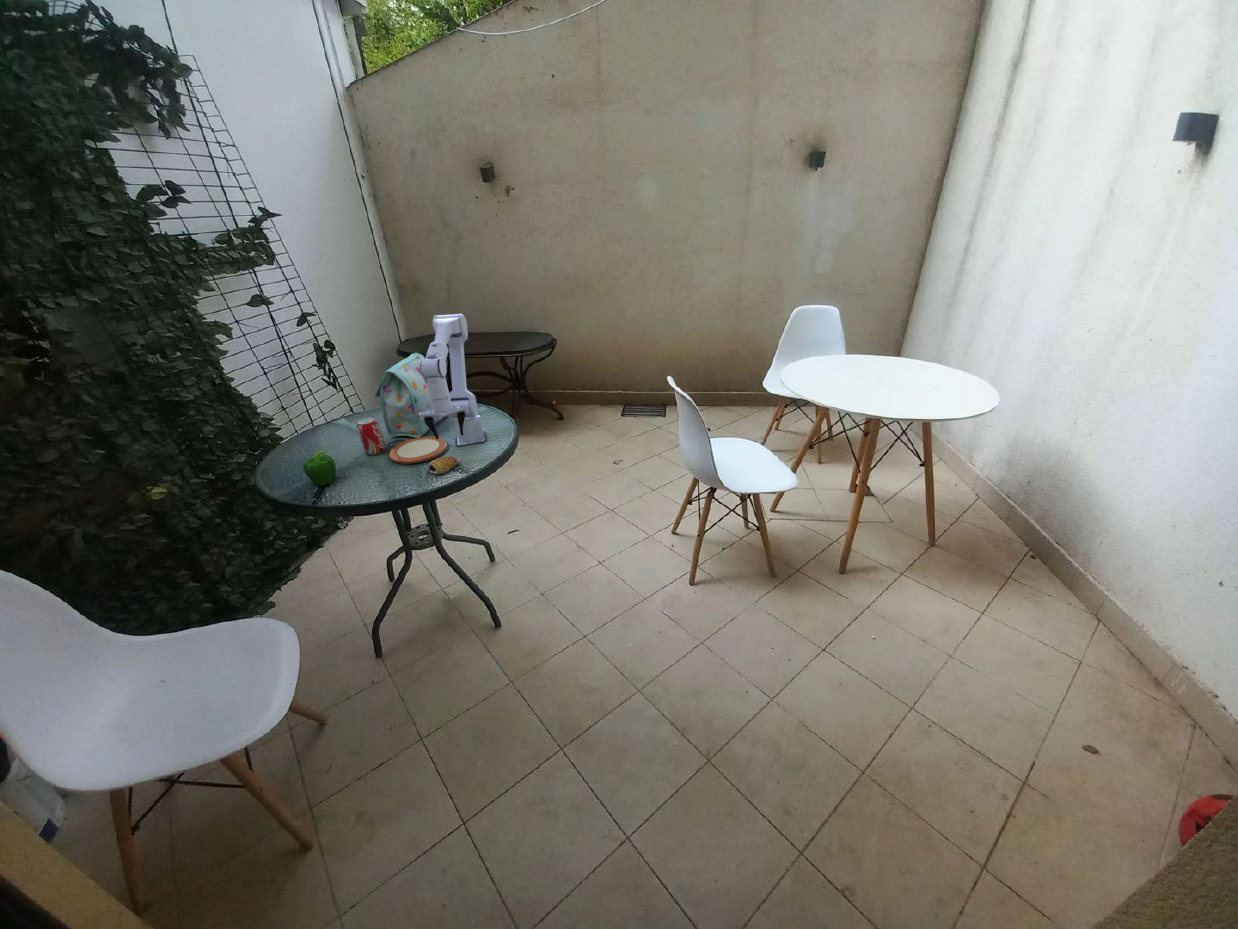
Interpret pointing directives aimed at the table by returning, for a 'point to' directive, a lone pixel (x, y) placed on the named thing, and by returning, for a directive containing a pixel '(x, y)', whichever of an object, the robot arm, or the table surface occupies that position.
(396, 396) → the lunch bag
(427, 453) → the plate
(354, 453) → the table surface
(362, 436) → the soda can
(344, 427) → the table surface
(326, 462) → the bell pepper
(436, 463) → the pastry
